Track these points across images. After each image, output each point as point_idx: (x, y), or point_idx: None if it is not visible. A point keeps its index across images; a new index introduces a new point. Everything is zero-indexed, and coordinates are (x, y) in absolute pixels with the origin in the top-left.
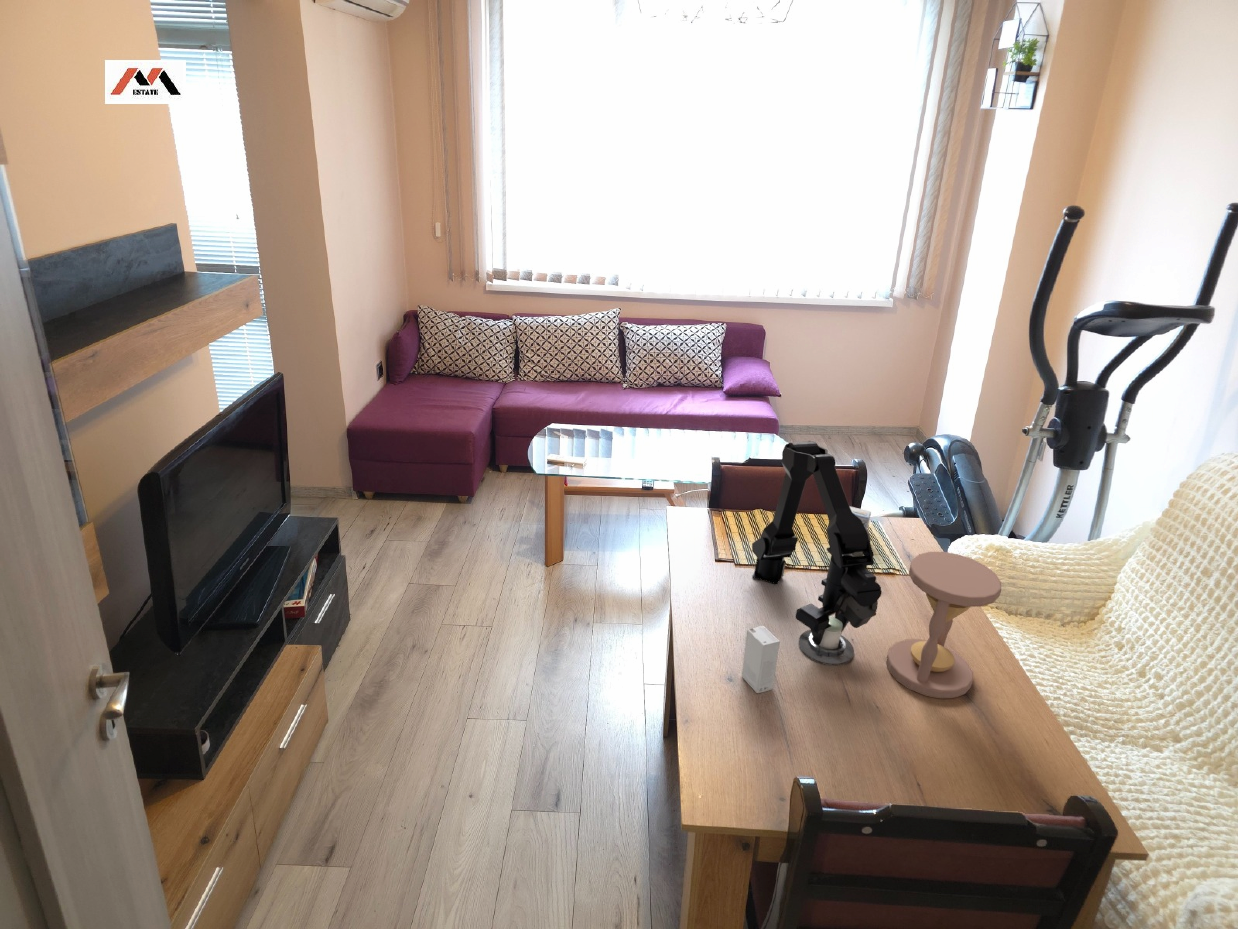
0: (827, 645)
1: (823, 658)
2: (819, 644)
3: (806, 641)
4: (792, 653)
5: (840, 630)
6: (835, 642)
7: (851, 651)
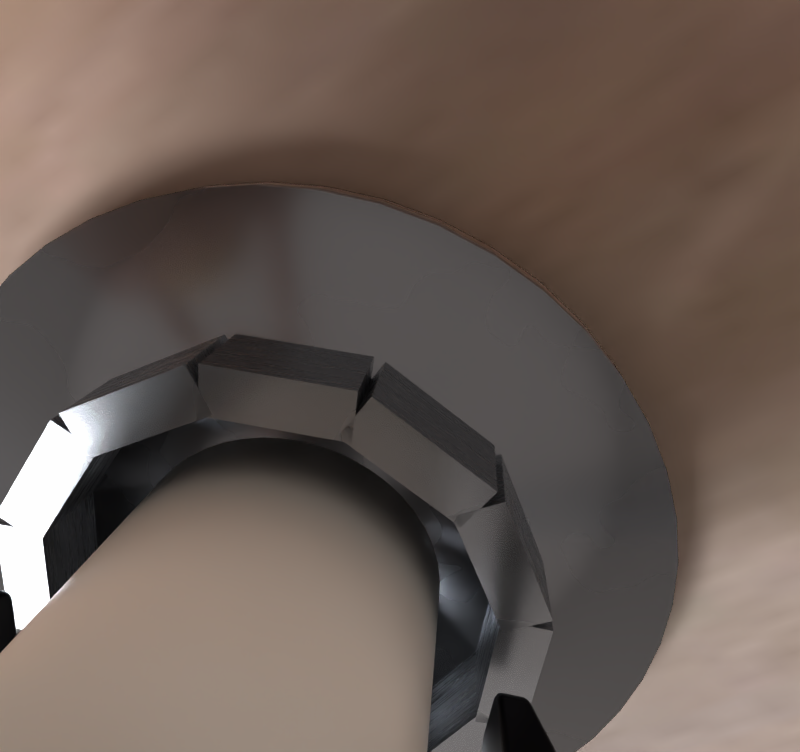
0: (400, 602)
1: (586, 477)
2: (513, 703)
3: None
4: (715, 745)
5: None
6: (273, 569)
7: (79, 275)
